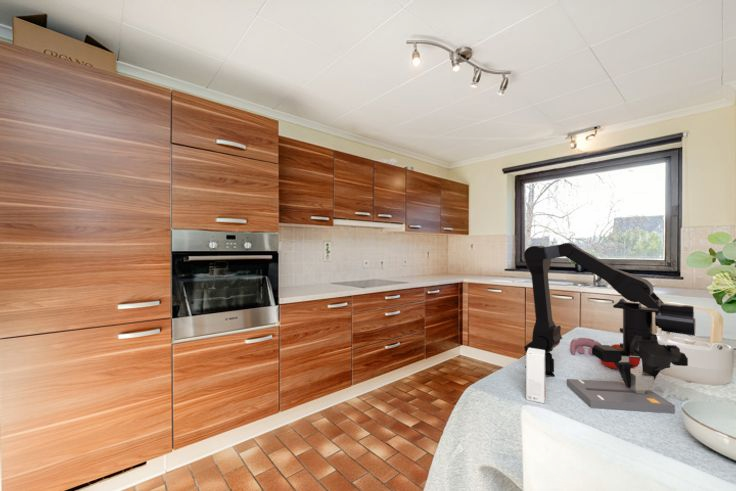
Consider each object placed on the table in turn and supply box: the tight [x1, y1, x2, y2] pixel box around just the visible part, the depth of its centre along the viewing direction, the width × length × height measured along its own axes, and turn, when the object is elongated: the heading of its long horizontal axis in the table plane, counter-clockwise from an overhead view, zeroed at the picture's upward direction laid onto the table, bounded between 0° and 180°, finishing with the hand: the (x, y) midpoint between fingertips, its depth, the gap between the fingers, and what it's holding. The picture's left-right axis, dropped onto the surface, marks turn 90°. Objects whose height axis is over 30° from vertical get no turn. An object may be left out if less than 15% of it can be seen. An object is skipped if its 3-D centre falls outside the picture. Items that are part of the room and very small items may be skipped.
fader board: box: [566, 378, 676, 415], centre depth 80 cm, size 18×12×2 cm, turn 81°
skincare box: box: [525, 348, 546, 404], centre depth 81 cm, size 6×4×12 cm
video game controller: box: [569, 337, 602, 356], centre depth 112 cm, size 10×5×7 cm, turn 59°
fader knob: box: [622, 368, 655, 394], centre depth 79 cm, size 4×5×5 cm
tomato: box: [600, 343, 641, 370], centre depth 100 cm, size 10×11×6 cm
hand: (637, 388), depth 79 cm, fingers closed on fader knob, 4 cm apart
